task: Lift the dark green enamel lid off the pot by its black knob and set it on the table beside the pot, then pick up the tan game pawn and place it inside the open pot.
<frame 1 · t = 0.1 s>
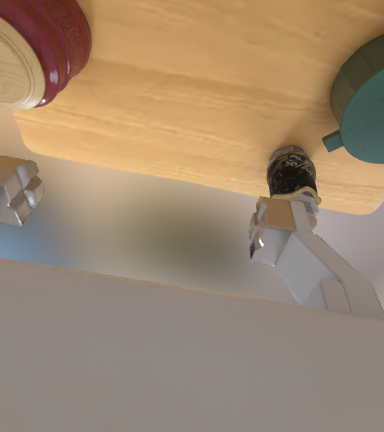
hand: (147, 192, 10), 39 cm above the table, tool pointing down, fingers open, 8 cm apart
pot: (383, 85, 42), on the table
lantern: (287, 160, 54), on the table
kitchen canister: (51, 28, 42), on the table
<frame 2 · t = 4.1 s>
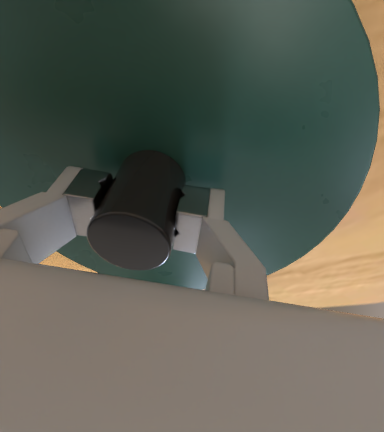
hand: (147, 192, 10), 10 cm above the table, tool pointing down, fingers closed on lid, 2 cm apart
lid: (156, 170, 11), point 9 cm above the table, touching gripper, pot
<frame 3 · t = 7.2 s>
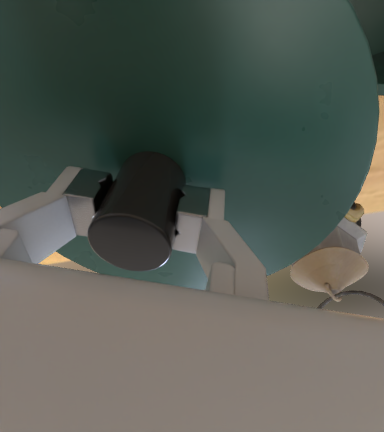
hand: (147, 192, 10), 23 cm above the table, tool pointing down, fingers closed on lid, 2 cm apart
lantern: (296, 162, 34), on the table
lid: (156, 171, 11), point 21 cm above the table, touching gripper
when the fingers open (2 cm above the table, at t = 10.6 s): lid stays where it is, point 1 cm above the table.
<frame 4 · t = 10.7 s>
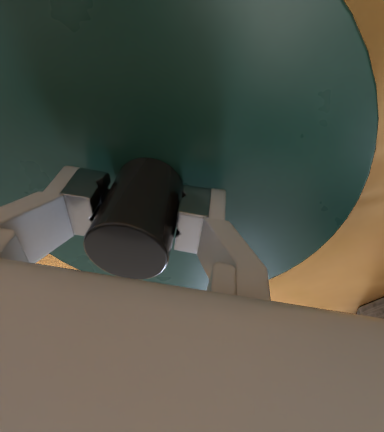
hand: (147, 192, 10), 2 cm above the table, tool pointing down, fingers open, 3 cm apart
lid: (154, 176, 11), point 1 cm above the table
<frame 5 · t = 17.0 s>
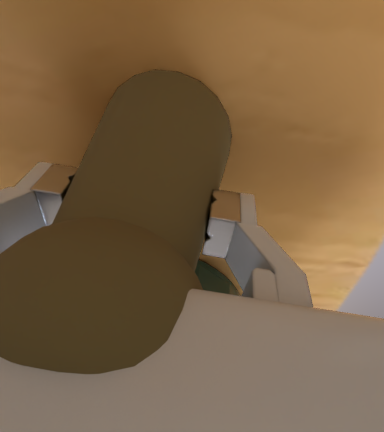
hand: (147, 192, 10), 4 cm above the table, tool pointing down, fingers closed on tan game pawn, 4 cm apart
tan game pawn: (168, 136, 13), on the table, touching gripper
pot: (155, 302, 24), on the table
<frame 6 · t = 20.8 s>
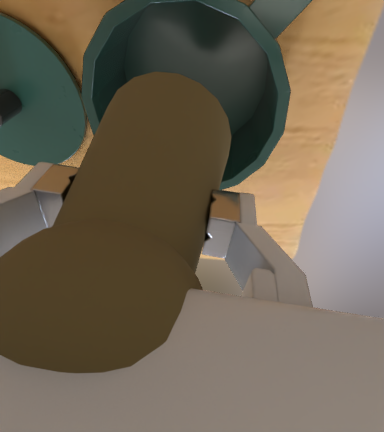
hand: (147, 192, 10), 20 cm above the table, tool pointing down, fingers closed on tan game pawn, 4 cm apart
tan game pawn: (168, 138, 13), point 16 cm above the table, touching gripper
pot: (194, 78, 26), on the table
lid: (12, 99, 29), point 1 cm above the table
when the fingers open (5 cm above the table, at t = 25.5 s): tan game pawn stays where it is, resting on pot.
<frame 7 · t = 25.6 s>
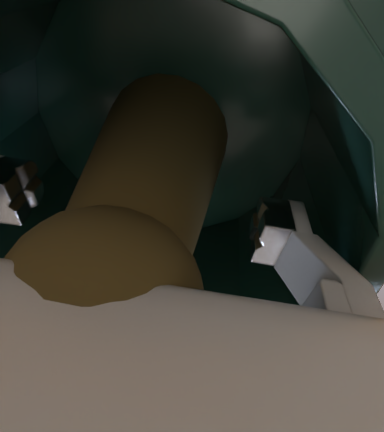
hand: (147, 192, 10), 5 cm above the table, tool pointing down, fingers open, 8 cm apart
tan game pawn: (168, 136, 14), resting on pot
pot: (171, 130, 14), on the table
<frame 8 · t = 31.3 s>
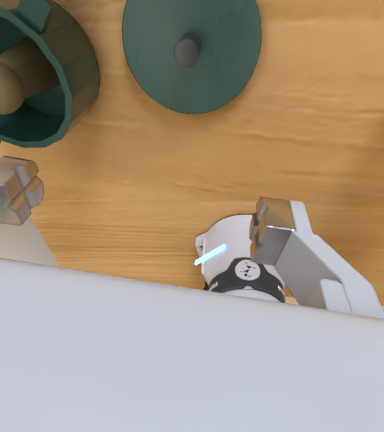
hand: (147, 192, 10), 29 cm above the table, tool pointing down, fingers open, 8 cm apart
tan game pawn: (42, 62, 35), resting on pot
pot: (43, 63, 36), on the table
lid: (190, 44, 32), point 1 cm above the table
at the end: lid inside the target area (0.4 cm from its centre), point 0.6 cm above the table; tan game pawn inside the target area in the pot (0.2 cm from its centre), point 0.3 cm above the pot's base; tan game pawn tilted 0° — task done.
